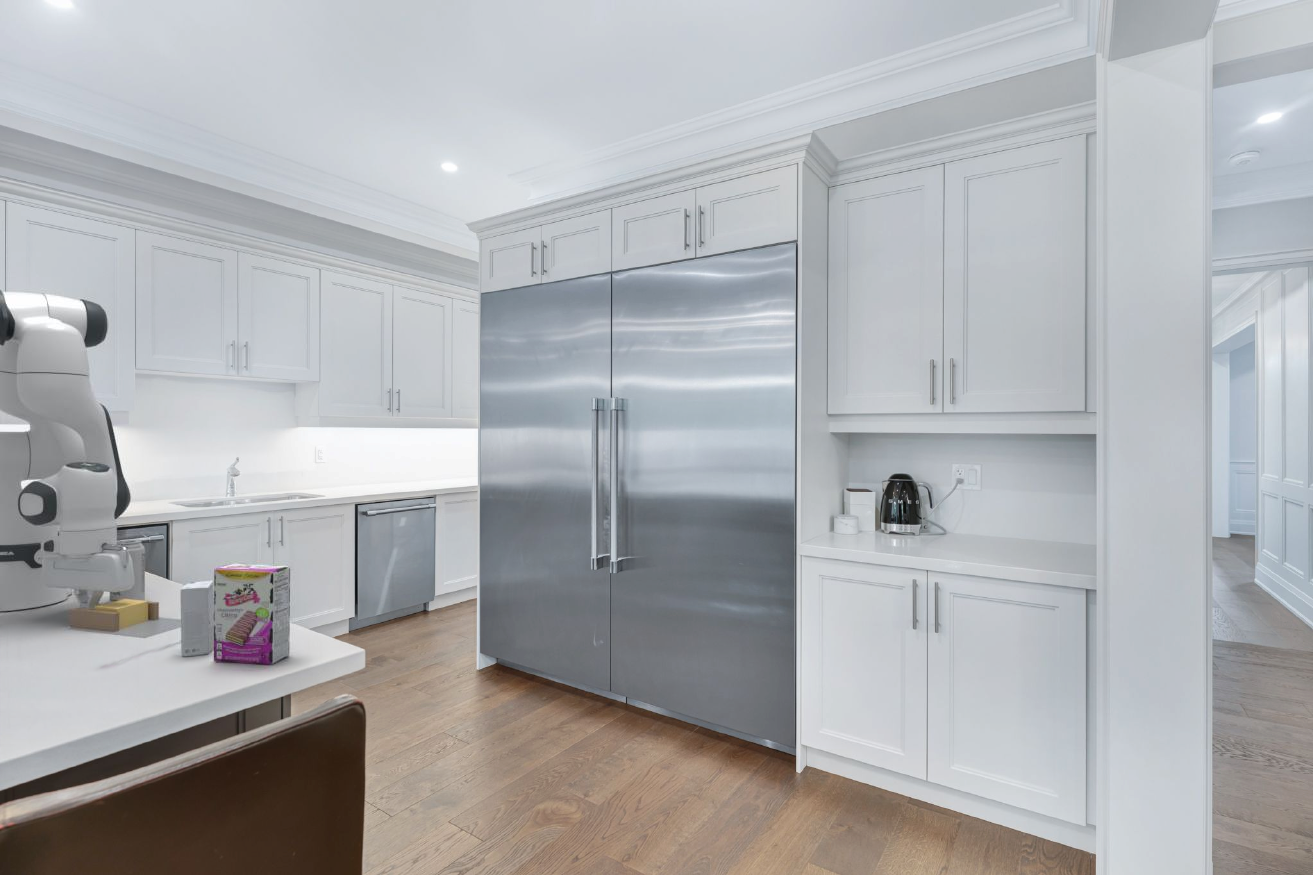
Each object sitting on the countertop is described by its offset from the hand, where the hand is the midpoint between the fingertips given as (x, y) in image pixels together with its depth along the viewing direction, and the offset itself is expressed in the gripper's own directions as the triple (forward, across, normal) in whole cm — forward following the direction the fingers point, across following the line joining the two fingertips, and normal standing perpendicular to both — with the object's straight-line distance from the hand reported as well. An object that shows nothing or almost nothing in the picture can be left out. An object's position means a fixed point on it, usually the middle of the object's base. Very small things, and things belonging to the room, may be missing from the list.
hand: (88, 610), depth 132 cm
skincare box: (+4, -34, +5) cm, 34 cm away
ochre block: (+2, -8, -1) cm, 8 cm away
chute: (+3, -11, -1) cm, 11 cm away
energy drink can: (+3, +6, -12) cm, 13 cm away
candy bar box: (+4, -47, +6) cm, 47 cm away
